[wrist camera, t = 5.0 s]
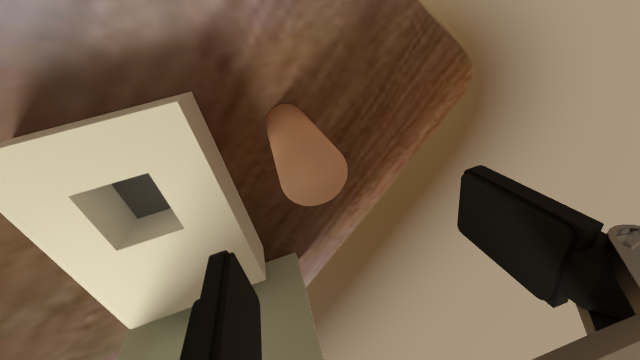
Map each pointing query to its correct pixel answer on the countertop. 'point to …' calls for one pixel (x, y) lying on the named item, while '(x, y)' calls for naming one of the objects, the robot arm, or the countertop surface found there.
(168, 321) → the grey hook bracket
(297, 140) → the peg
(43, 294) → the countertop surface
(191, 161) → the socket block
